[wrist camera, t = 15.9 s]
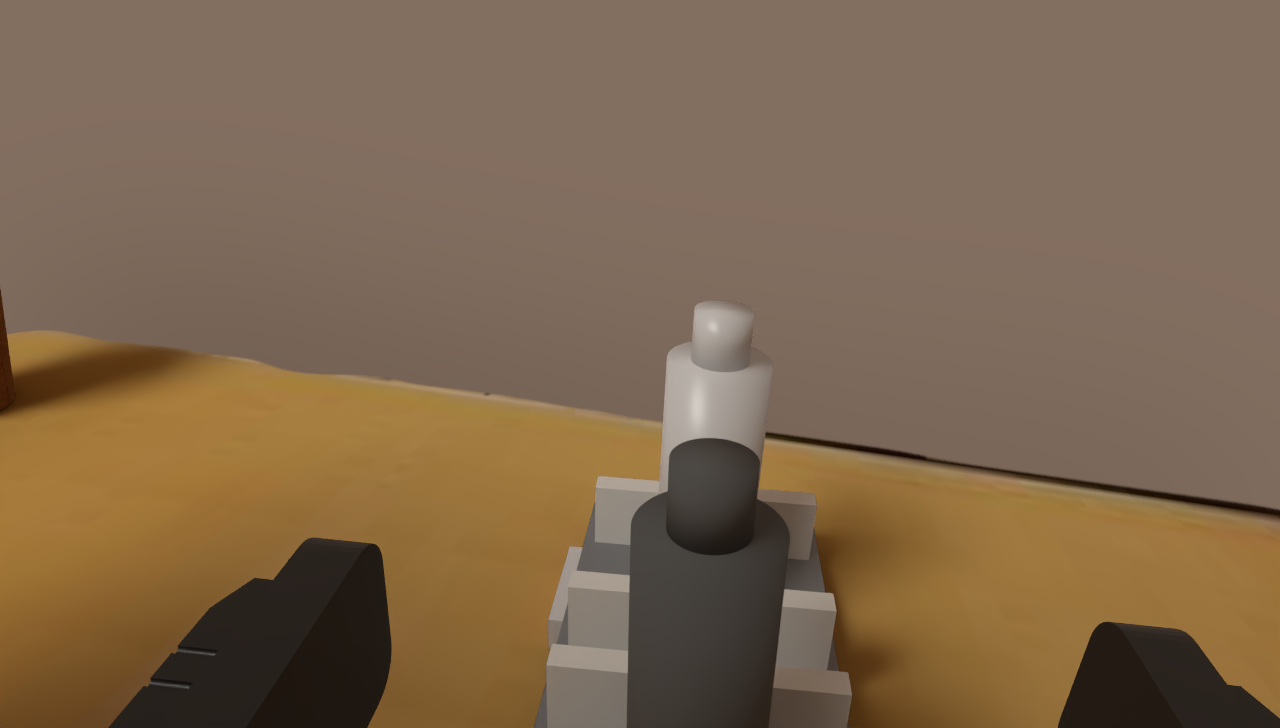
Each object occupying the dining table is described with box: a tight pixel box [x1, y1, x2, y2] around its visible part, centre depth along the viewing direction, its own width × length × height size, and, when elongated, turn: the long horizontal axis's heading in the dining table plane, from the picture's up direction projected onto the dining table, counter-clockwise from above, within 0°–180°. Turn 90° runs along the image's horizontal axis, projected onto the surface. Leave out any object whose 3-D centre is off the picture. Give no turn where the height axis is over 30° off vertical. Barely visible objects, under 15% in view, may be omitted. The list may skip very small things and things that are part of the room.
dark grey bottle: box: [627, 438, 790, 728], centre depth 22 cm, size 4×4×13 cm
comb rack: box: [534, 476, 852, 728], centre depth 29 cm, size 24×12×4 cm, turn 174°
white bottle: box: [659, 300, 773, 497], centre depth 32 cm, size 4×4×13 cm
